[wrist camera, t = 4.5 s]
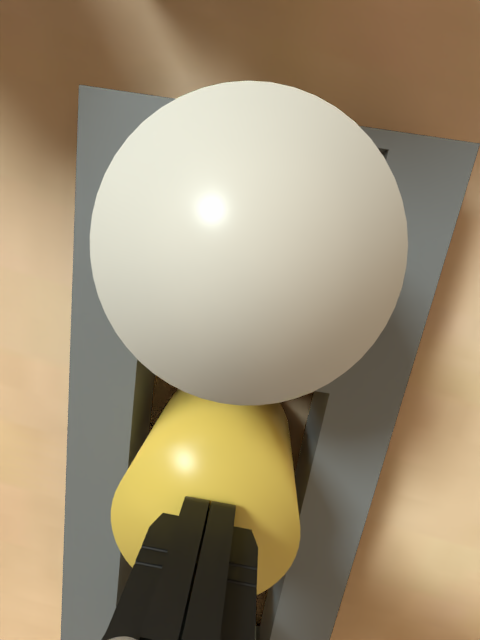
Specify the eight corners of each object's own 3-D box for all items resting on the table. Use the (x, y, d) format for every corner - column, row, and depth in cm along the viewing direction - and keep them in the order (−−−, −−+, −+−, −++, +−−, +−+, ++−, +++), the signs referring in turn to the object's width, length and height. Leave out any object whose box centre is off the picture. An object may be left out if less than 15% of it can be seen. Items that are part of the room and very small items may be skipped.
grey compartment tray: (304, 642, 18) (309, 704, 16) (87, 597, 19) (60, 651, 16) (437, 162, 12) (480, 143, 10) (114, 113, 13) (79, 84, 10)
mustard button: (276, 498, 15) (280, 619, 11) (155, 475, 16) (105, 583, 11) (301, 386, 14) (319, 465, 9) (168, 362, 14) (116, 427, 9)
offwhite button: (322, 347, 11) (362, 428, 7) (159, 319, 12) (83, 377, 7) (362, 170, 10) (452, 107, 5) (177, 141, 10) (97, 57, 5)
